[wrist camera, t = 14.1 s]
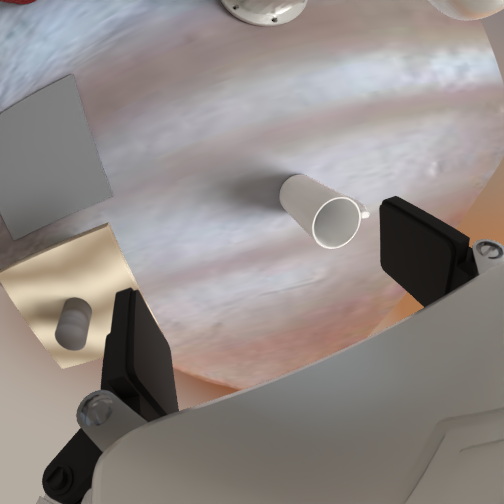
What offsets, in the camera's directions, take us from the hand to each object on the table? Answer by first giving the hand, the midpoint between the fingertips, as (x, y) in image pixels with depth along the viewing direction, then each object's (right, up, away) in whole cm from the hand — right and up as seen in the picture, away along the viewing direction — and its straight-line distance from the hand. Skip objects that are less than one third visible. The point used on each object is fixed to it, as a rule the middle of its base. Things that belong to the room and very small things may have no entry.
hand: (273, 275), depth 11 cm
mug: (+8, +10, +37) cm, 39 cm away
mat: (-30, +13, +23) cm, 40 cm away
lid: (-21, -5, +22) cm, 31 cm away
